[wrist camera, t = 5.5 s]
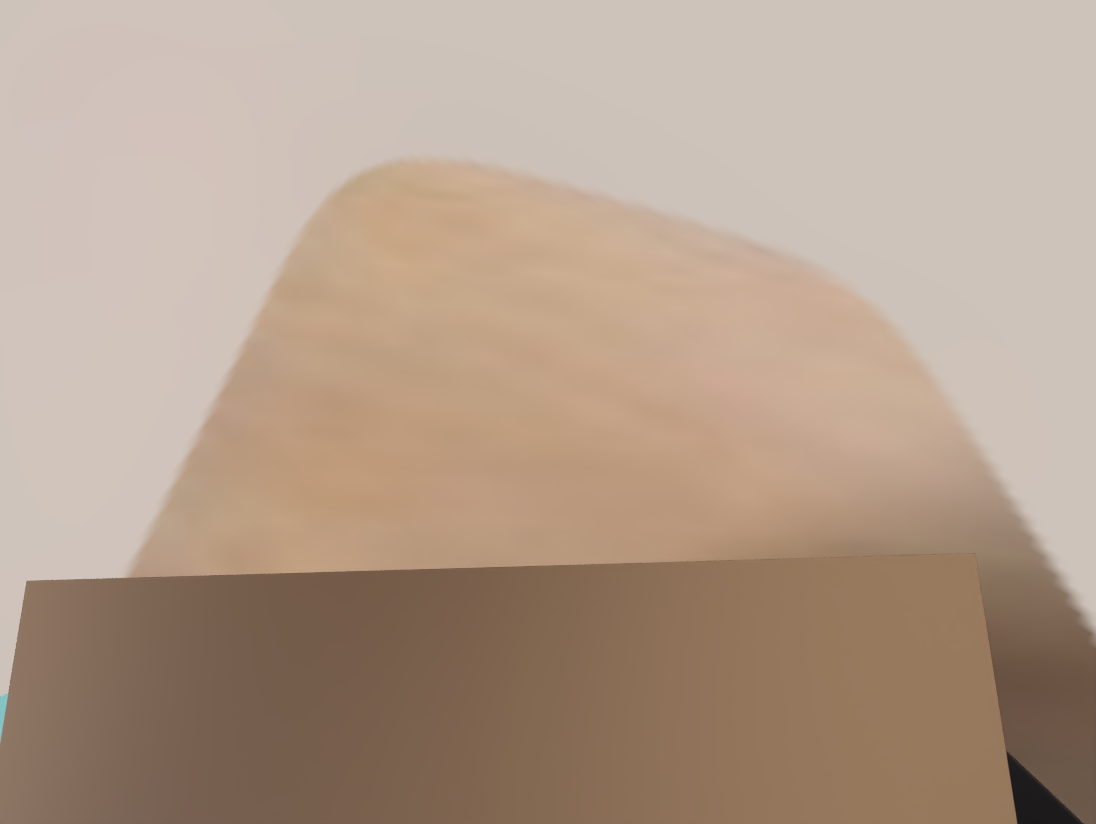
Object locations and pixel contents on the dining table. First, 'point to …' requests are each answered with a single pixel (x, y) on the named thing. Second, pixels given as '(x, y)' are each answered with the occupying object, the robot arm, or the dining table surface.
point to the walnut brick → (511, 696)
